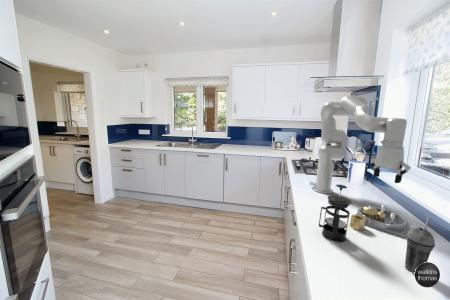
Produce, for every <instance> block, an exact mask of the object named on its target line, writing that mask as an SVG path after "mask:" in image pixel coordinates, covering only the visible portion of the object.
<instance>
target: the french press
mask: <svg viewBox="0 0 450 300" xmlns="http://www.w3.org/2000/svg"><path fill="white" fill-rule="evenodd" d="M335 187H336V188H339V195H334V194H333V195H332V194H331V195H328V196H327V200H328V201H327V203H328V204H329V205H327V206H321V207H320V214H319V219H318V221H319V222H318V227H320V228H321V229H322V231H321V234H322V236H323V238H326V239H327V240H329V241H331V242H335V243H344V242H346V240H347V231H348V225H349V218H350V211H349V210H348V209H347V208H348V207H349V206H350V205H351V204H352V200H351V199H349V198H347V197H344V196H342V195H341V194H342V191H343V189H348V187H347V186H346V185H345V184H335ZM330 209H331V210H333V209H334V212H332V211H330ZM322 210H325V212H324V220H323V224H321V219H322ZM340 211H342V212H343V213H346V214H340ZM327 214H328V215H329V216H332V217H326V215H327ZM342 219H347V220H346V222H345V221H343V220H342Z"/></svg>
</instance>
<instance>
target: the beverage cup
mask: <svg viewBox="0 0 450 300" xmlns="http://www.w3.org/2000/svg"><path fill="white" fill-rule="evenodd" d="M430 219H431V216H427V219H426V221H425V225H424V227H414V228H412V229H410V230H409V231H408V232H407V234H406V252H405V259H404V260H405V262H404V269H405V268H406V269H405V270H406V271H407V270H408V272H409V271H410V272H412V273H413V275H415V274H414V272H415V269H416V268H417V267H418V266H419V265H420V264H422V263H424V262H428V261H429V258H430V257H431V256H430V255H431V253H432V251H433V250H434V247H435V246H436V240H435V238H434V235H433V234H432V232H430V231H429V230H427V227H428V225H429V221H430ZM410 272H409V273H410ZM412 273H411V274H412Z"/></svg>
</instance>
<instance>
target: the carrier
mask: <svg viewBox="0 0 450 300" xmlns="http://www.w3.org/2000/svg"><path fill="white" fill-rule="evenodd" d="M355 215H359V216H362V217H364V218H365V219H366V221H365V227H369V228H372V229H375V230H378V231H381V232H385V233H387V234H390V235H393V236H396V237H400V238H402V239H404V237H405V233H406V228H407V223H408V219H407V218H406V219H405V218H404V217H402V216H401V215H400V214H397V213H395V212H393V211H390V210H387V209H386V205H384V204H382V205H381V207H376V206H370V205H364V206H360V207H359V208H358V209H357V212H356V214H355Z"/></svg>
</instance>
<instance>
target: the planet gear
mask: <svg viewBox="0 0 450 300" xmlns="http://www.w3.org/2000/svg"><path fill="white" fill-rule="evenodd" d="M365 221H366V219H365V218H364V217H362V216H359V215H356V214H351V216H350V222H349V227H350V228H351V229H353V230H356V231H364V230H365V227H366V225H365Z"/></svg>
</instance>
